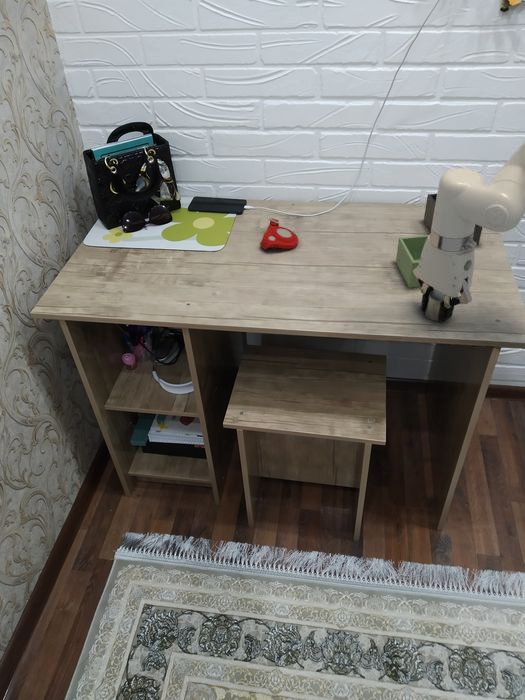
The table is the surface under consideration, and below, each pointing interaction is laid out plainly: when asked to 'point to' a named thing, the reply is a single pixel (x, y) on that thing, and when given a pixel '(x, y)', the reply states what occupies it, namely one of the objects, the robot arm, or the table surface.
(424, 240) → the left bin
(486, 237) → the table surface
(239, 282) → the table surface
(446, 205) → the robot arm
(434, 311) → the steel cylinder
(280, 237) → the tracker holder
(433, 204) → the right bin
